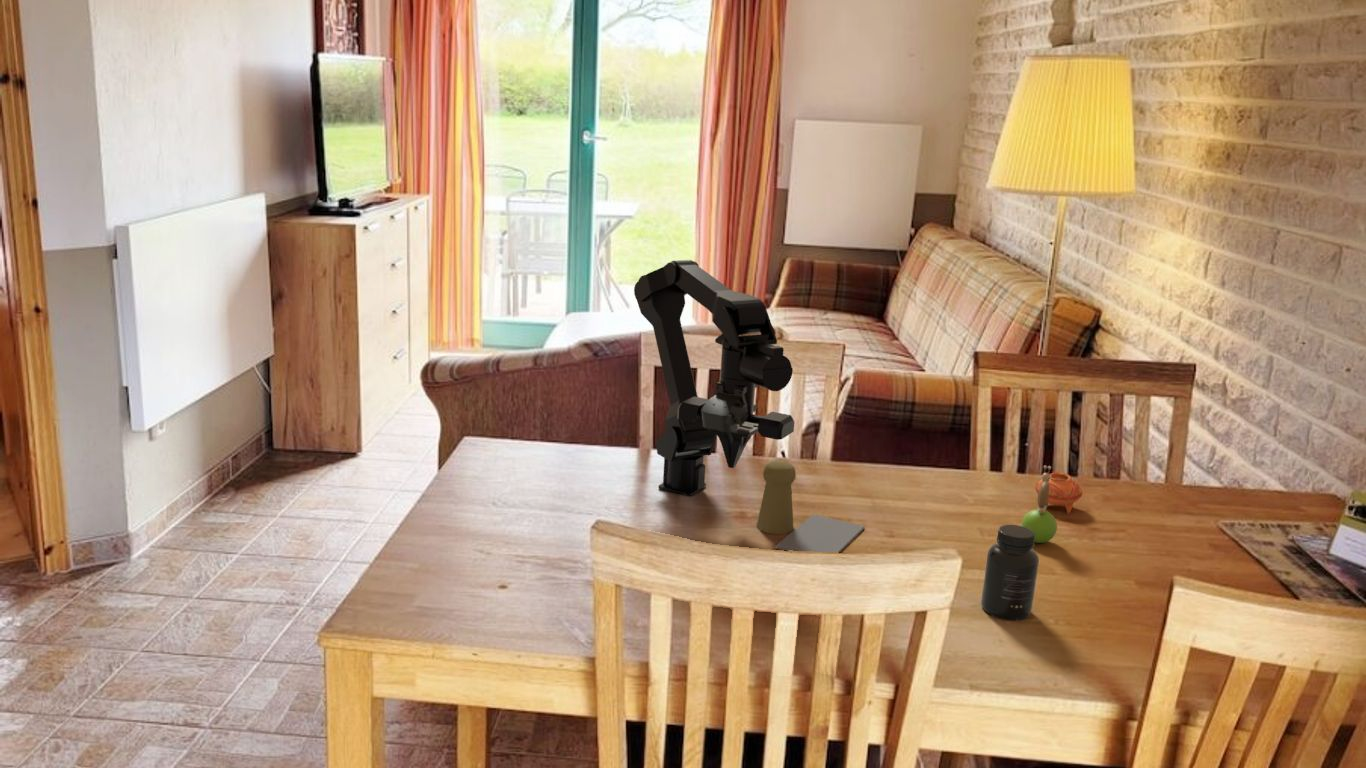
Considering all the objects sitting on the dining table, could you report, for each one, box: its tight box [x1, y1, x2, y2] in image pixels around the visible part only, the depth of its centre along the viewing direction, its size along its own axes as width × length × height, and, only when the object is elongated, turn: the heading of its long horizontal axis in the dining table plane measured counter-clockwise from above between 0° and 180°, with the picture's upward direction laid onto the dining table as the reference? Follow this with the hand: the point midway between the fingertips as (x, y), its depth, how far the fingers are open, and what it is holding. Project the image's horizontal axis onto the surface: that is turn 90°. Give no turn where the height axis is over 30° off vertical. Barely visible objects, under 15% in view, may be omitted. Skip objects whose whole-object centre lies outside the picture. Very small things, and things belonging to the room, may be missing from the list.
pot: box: [1034, 471, 1083, 514], centre depth 190 cm, size 8×8×7 cm
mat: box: [775, 513, 865, 553], centre depth 171 cm, size 9×16×1 cm, turn 152°
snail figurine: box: [1021, 465, 1058, 544], centre depth 173 cm, size 5×6×12 cm
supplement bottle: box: [980, 524, 1040, 621], centre depth 148 cm, size 7×7×12 cm
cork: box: [756, 460, 796, 535], centre depth 173 cm, size 6×6×11 cm
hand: (731, 467), depth 176 cm, fingers closed
